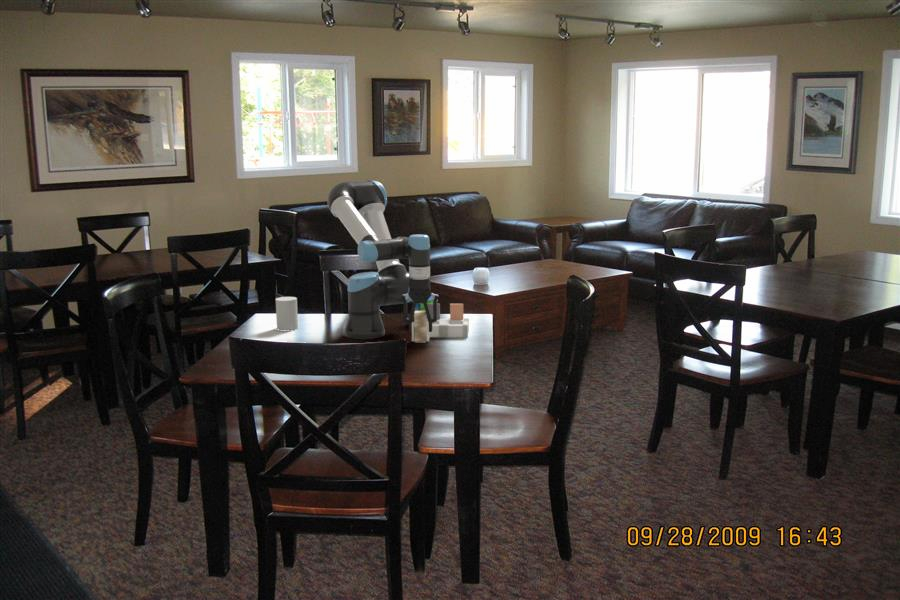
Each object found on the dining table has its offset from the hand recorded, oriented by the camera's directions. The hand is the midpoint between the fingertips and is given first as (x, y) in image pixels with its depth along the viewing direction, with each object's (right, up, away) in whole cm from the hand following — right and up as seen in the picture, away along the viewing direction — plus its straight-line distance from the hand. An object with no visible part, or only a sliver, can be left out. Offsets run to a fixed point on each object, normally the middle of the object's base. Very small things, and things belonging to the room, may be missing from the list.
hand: (420, 340), depth 308 cm
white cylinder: (-53, +3, +22) cm, 57 cm away
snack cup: (+1, +6, +31) cm, 31 cm away
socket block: (+9, +2, +11) cm, 14 cm away
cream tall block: (0, 0, 0) cm, 0 cm away
